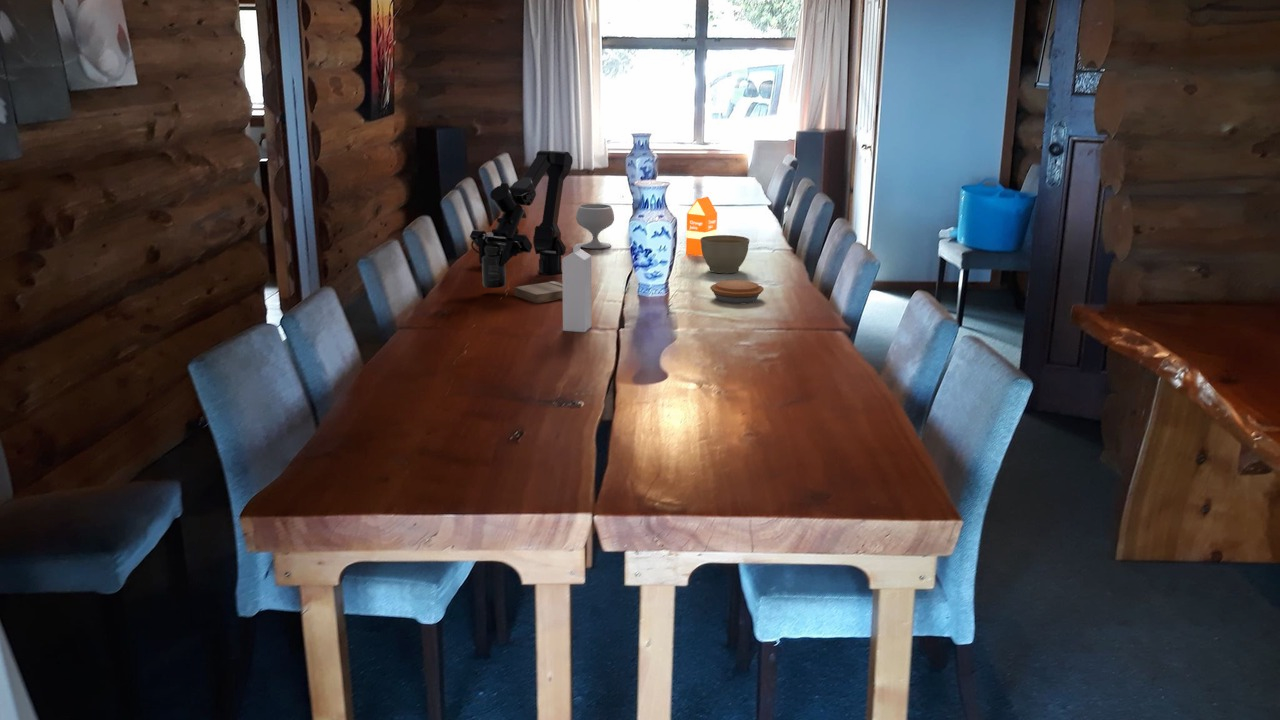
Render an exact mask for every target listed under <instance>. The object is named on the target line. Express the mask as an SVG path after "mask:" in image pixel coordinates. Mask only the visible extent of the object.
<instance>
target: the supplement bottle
mask: <svg viewBox="0 0 1280 720" xmlns="http://www.w3.org/2000/svg"><path fill="white" fill-rule="evenodd" d="M484 252H485V255H483V257H482V264H481V273H482V275H481V276H482V285H483V287H484V288H489V289H499V288H503V287H505V286H506V284H507V281H506V280H507V279H506V278H507V276H506V274H507V273H506V264H505V265H504V266H501V265H500V262H501V258H502V254H501V245H486V246H485V251H484Z"/></svg>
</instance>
